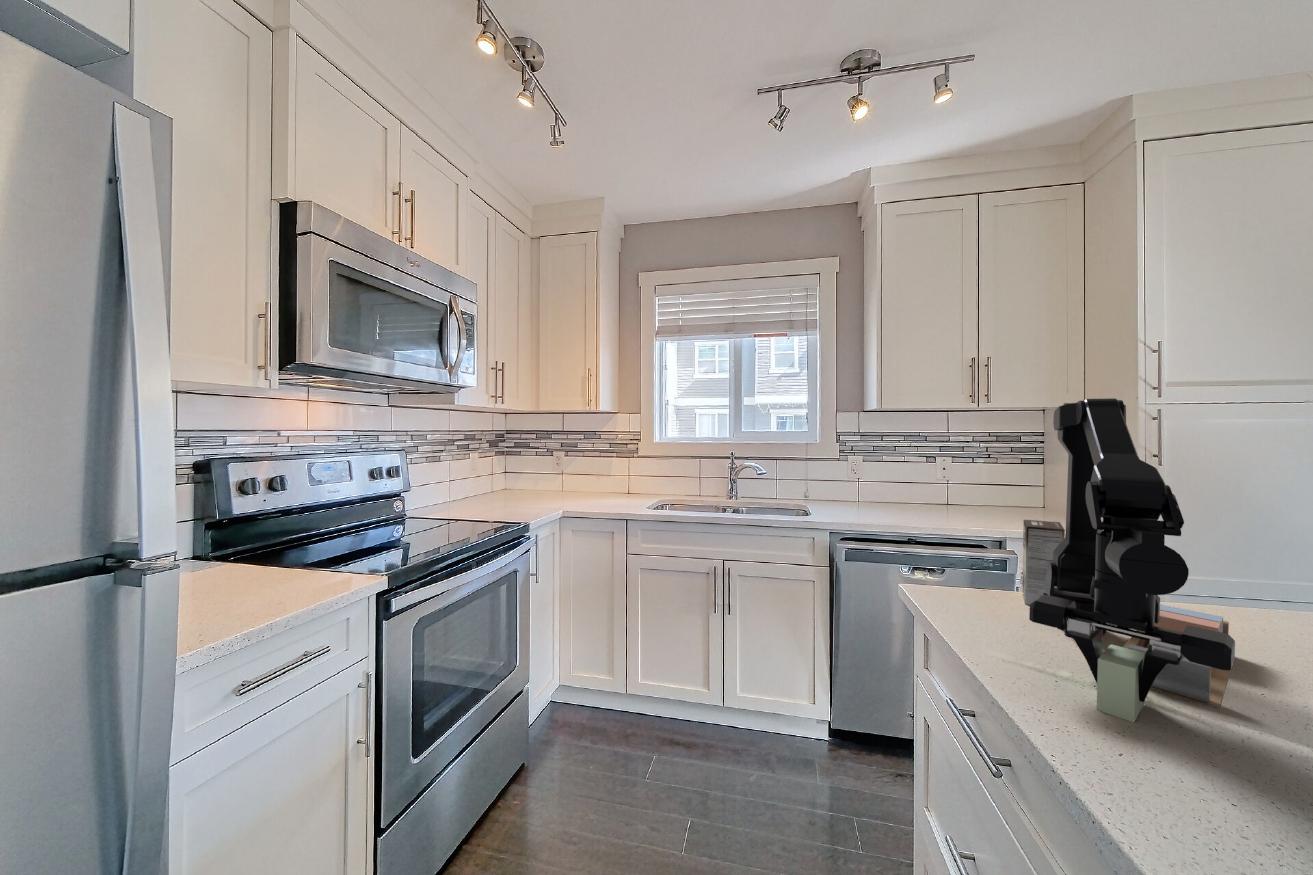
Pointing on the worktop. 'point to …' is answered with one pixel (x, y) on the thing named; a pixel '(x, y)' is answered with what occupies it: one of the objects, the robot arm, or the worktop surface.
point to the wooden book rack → (1217, 676)
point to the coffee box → (1038, 555)
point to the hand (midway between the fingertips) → (1121, 694)
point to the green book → (1120, 682)
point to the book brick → (1185, 623)
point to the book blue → (1193, 614)
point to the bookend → (1183, 678)
